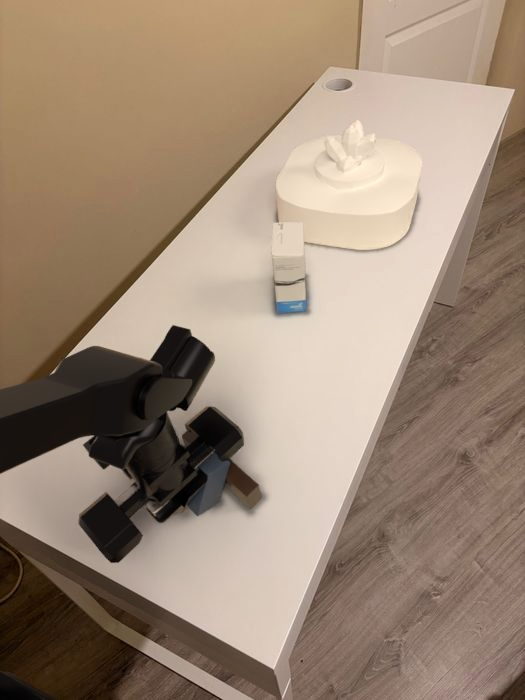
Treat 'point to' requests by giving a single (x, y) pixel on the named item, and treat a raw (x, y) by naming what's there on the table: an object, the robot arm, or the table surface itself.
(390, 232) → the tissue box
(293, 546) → the table surface
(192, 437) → the walnut rail
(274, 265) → the ink box
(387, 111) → the table surface
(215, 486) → the slate block
